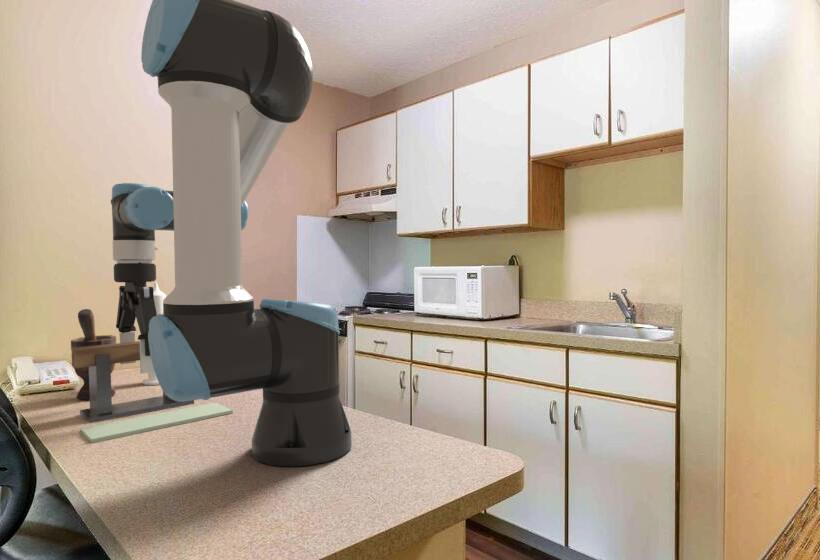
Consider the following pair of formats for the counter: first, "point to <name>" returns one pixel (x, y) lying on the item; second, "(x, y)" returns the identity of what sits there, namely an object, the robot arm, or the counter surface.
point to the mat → (153, 422)
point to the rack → (103, 400)
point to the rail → (116, 351)
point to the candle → (158, 300)
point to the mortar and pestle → (89, 340)
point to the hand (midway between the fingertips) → (137, 367)
